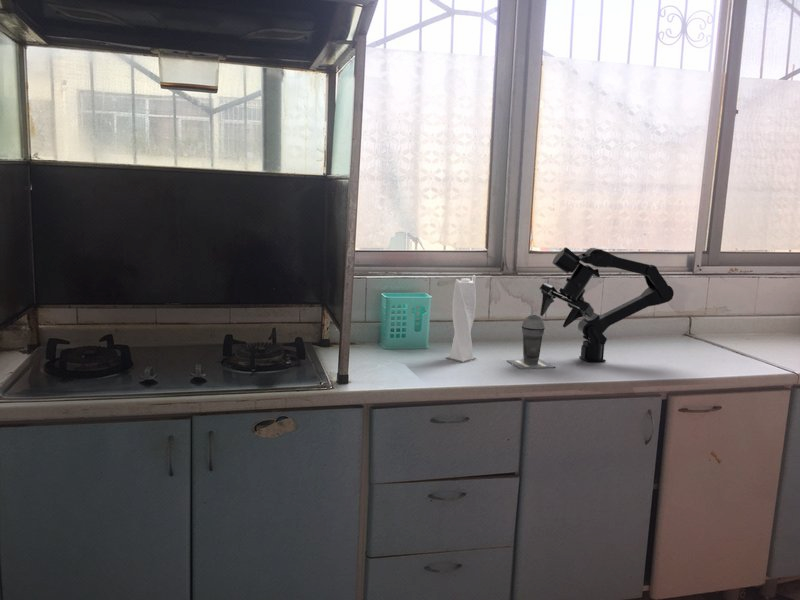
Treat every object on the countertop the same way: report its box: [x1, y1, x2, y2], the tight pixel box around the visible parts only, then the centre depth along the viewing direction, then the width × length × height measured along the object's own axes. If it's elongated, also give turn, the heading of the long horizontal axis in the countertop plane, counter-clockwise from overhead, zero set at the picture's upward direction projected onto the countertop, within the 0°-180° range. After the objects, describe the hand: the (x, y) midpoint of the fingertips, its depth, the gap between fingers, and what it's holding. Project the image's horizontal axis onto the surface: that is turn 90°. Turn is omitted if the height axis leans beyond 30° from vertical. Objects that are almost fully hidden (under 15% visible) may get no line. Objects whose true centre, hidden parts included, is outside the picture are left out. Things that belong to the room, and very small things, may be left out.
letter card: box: [506, 358, 556, 370], centre depth 220 cm, size 12×10×1 cm
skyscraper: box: [445, 274, 477, 363], centre depth 221 cm, size 8×8×28 cm
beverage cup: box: [521, 300, 546, 365], centre depth 218 cm, size 7×7×20 cm
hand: (552, 321), depth 223 cm, fingers open, 9 cm apart
